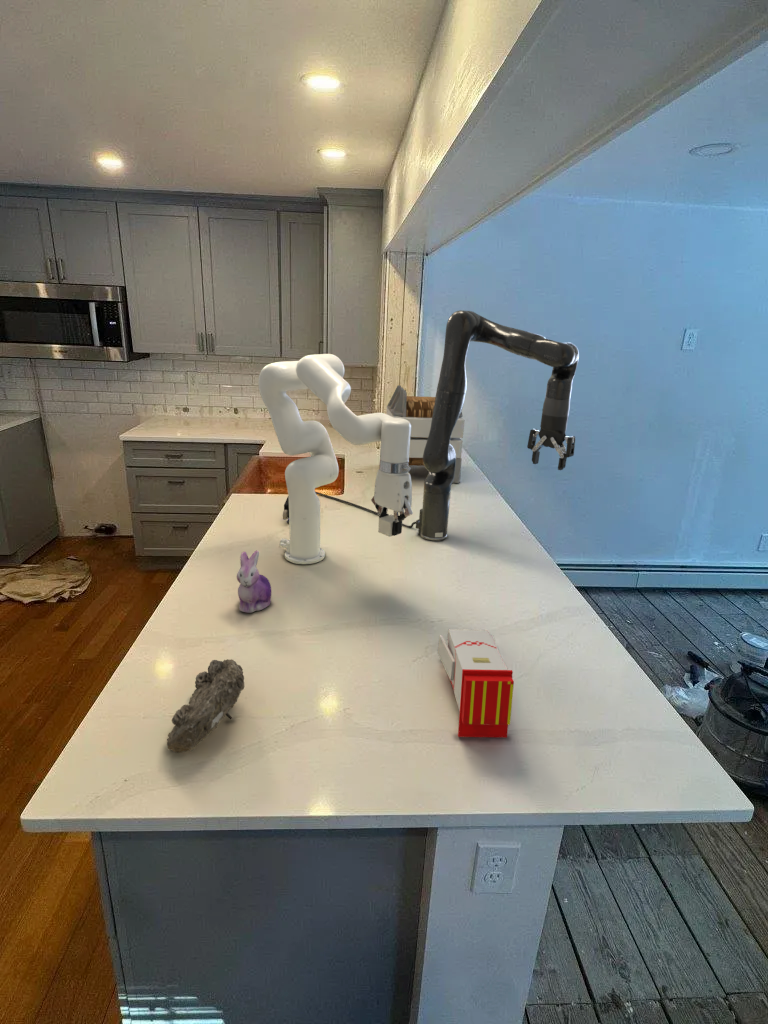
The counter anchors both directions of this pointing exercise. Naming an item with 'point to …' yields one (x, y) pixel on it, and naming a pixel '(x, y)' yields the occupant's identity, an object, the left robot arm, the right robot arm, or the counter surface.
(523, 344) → the right robot arm
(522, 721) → the counter surface
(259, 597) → the figurine
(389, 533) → the block
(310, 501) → the left robot arm
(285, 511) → the figurine character
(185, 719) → the fossil
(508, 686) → the toy
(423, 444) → the white wooden crate
